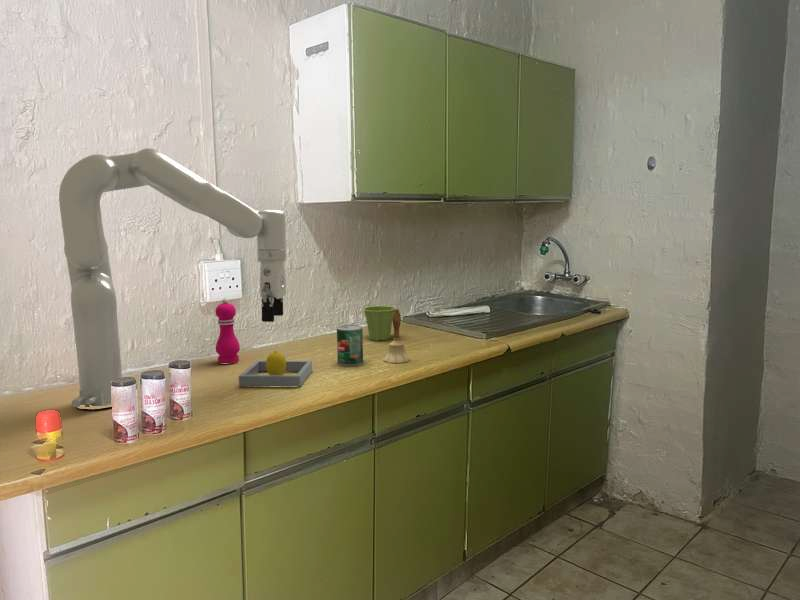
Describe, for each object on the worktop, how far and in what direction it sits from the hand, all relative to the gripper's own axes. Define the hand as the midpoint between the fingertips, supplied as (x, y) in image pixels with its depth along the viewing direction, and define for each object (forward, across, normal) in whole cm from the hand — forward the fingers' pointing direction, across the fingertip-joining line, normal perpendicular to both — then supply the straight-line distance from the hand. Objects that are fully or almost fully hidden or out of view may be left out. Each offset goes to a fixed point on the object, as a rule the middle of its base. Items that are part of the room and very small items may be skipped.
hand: (272, 318), depth 168 cm
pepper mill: (+18, +18, +19) cm, 32 cm away
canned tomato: (+17, +18, -19) cm, 31 cm away
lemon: (+17, 0, -1) cm, 17 cm away
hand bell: (+16, +22, -33) cm, 43 cm away
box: (+17, 0, -1) cm, 17 cm away
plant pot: (+16, +52, -25) cm, 59 cm away
